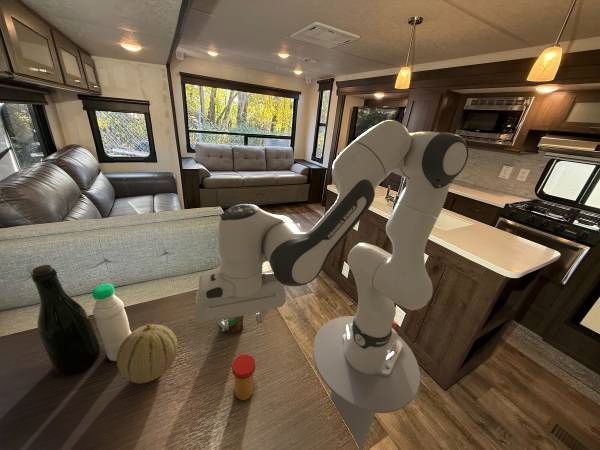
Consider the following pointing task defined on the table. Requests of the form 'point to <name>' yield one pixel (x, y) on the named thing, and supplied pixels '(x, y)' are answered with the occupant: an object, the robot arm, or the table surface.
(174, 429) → the table surface
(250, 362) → the lid
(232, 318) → the food container
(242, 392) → the orange cylinder
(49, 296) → the dark green glass bottle
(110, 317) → the white milk bottle
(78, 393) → the table surface
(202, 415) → the table surface
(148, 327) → the cantaloupe
